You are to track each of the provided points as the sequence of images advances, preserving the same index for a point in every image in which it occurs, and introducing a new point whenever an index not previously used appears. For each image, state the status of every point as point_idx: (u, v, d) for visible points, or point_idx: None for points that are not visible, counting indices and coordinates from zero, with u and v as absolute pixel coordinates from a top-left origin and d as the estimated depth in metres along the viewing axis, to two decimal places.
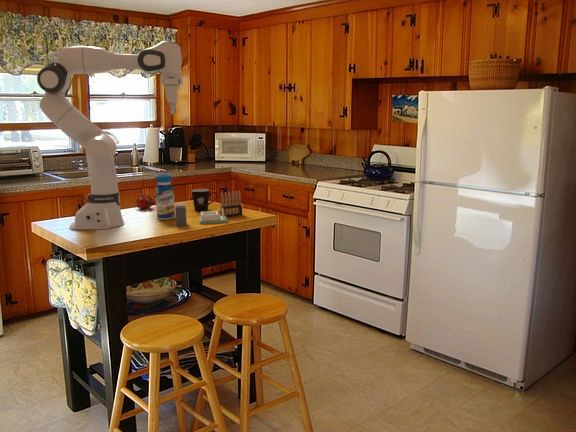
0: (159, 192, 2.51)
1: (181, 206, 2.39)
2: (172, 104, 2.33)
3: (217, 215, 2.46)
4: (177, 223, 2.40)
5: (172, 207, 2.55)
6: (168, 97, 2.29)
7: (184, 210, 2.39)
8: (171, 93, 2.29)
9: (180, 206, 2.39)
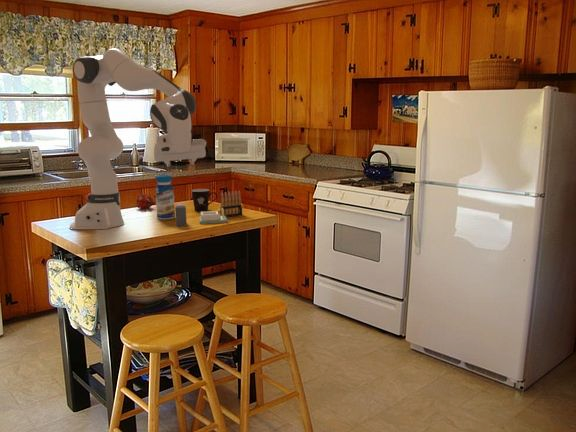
0: (159, 192, 2.51)
1: (181, 206, 2.39)
2: None
3: (217, 215, 2.46)
4: (177, 223, 2.40)
5: (172, 207, 2.55)
6: (154, 153, 2.19)
7: (184, 210, 2.39)
8: (154, 152, 2.18)
9: (180, 206, 2.39)
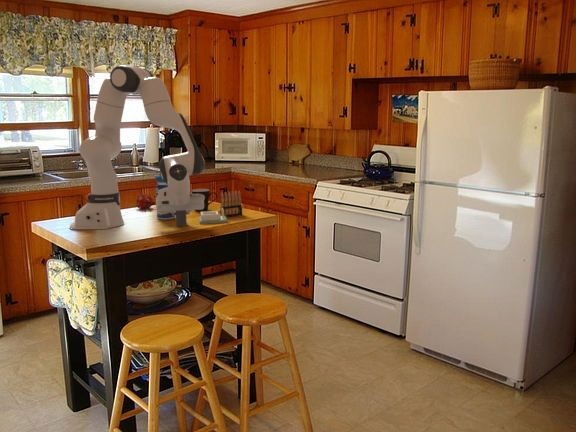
0: None
1: None
2: None
3: (217, 215, 2.46)
4: (177, 223, 2.40)
5: None
6: None
7: (184, 210, 2.39)
8: (156, 203, 2.33)
9: None
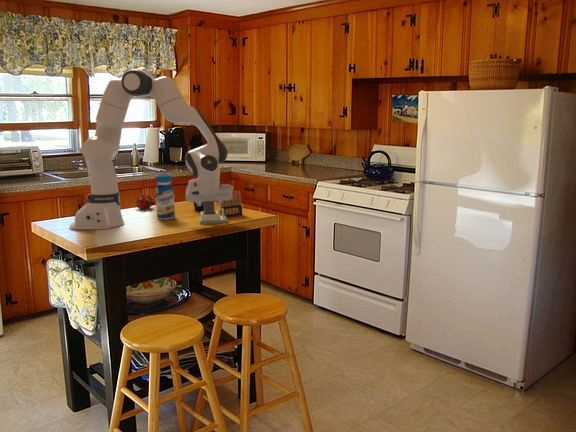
0: (159, 192, 2.51)
1: None
2: None
3: (217, 215, 2.46)
4: None
5: (172, 207, 2.55)
6: None
7: (212, 204, 2.46)
8: (186, 194, 2.40)
9: None
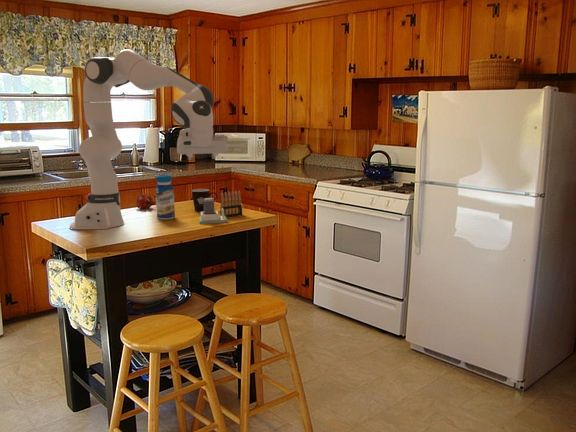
0: (159, 192, 2.51)
1: (209, 200, 2.46)
2: None
3: (217, 215, 2.46)
4: None
5: (172, 207, 2.55)
6: None
7: (212, 204, 2.46)
8: (177, 145, 2.24)
9: (208, 200, 2.46)
